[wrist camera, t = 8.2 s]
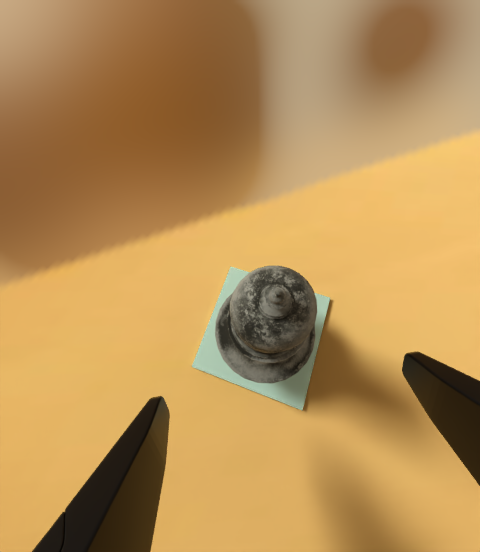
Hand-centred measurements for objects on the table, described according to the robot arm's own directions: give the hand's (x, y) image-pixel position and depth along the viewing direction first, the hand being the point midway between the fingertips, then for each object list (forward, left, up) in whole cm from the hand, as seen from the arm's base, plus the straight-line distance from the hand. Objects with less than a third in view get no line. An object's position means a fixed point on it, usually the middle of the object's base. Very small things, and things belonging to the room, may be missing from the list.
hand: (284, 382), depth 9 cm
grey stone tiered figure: (+1, -2, -8) cm, 9 cm away
